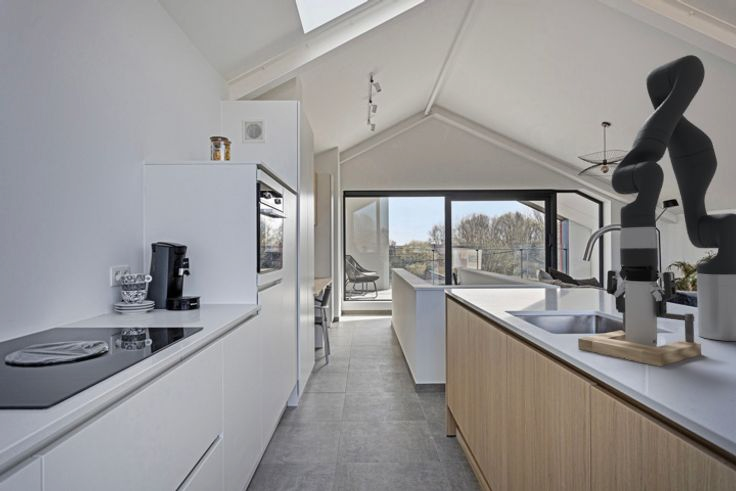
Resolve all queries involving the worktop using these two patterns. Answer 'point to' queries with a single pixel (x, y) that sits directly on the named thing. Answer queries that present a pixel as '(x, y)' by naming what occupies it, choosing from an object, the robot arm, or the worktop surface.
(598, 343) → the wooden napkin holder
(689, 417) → the worktop surface
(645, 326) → the travel mug
